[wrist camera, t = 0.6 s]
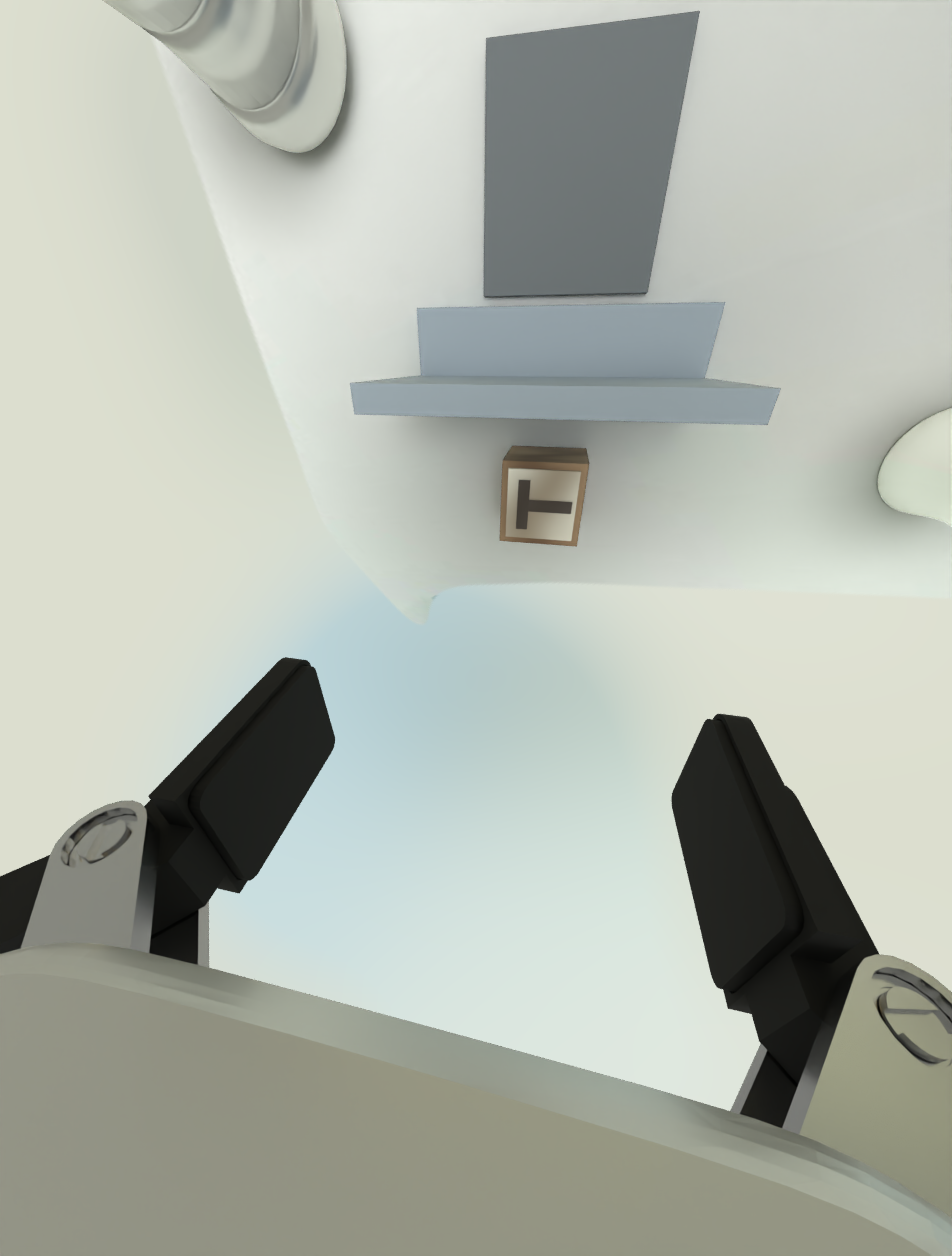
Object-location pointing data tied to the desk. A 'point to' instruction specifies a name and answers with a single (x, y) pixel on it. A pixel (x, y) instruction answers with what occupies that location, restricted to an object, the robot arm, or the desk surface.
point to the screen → (569, 366)
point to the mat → (580, 154)
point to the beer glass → (921, 470)
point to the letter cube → (543, 494)
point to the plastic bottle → (259, 60)
